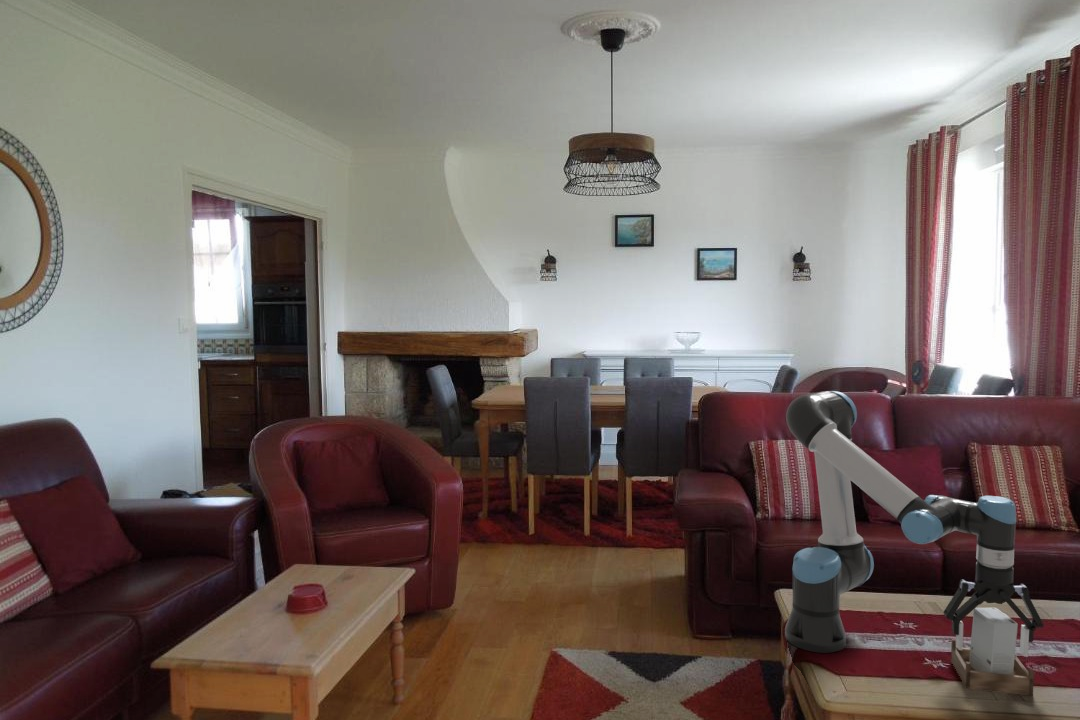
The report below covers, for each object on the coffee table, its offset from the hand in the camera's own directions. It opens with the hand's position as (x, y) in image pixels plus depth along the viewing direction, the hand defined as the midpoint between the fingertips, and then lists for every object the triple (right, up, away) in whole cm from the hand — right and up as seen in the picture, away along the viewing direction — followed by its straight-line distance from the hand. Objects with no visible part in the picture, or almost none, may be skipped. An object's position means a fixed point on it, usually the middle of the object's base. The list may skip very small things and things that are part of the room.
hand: (991, 650), depth 174 cm
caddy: (0, -7, +1) cm, 7 cm away
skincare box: (0, -6, 0) cm, 6 cm away
